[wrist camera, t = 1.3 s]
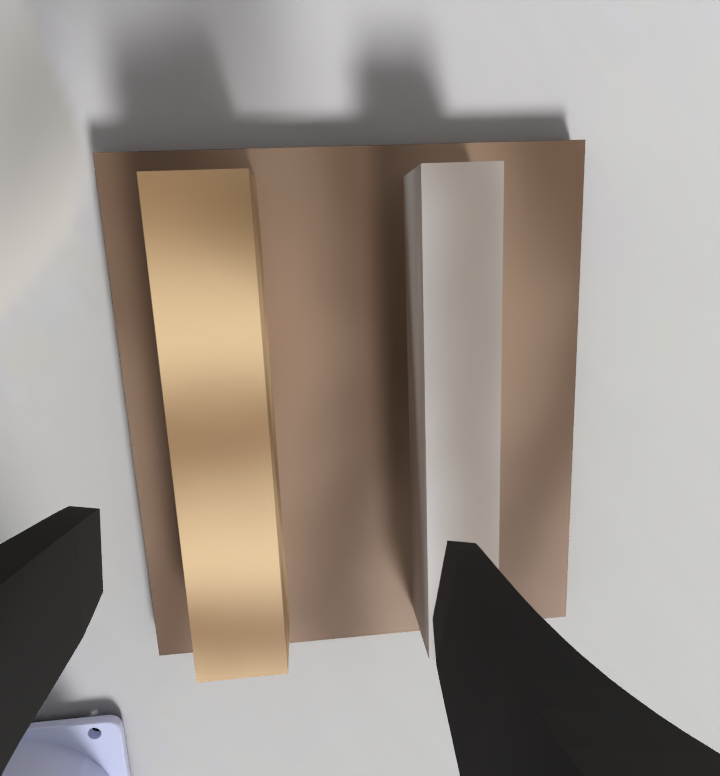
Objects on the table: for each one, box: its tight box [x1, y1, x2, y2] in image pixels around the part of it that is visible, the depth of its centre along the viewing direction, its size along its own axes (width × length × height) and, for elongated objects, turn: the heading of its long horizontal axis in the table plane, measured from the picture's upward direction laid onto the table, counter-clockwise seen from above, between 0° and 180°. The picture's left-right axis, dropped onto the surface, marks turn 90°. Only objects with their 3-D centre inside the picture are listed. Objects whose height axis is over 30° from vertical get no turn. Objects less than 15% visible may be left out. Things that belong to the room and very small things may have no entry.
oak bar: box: [137, 168, 290, 683], centre depth 19 cm, size 16×3×3 cm, turn 2°
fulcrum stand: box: [93, 140, 585, 659], centre depth 20 cm, size 16×18×4 cm
